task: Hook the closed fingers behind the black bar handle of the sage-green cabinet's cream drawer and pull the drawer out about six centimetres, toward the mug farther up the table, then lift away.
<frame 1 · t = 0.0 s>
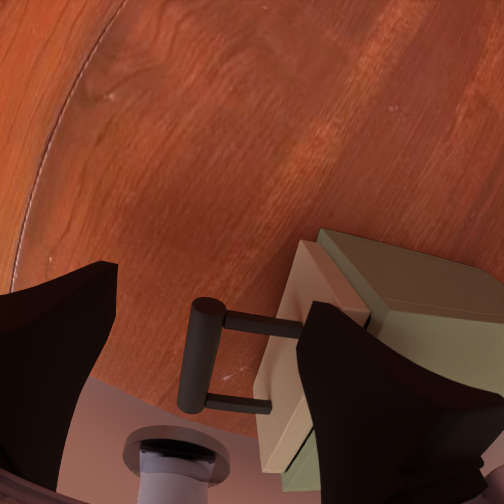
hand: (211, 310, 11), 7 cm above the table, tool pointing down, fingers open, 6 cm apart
drawer: (352, 367, 16), point 4 cm above the table, slide at 0.0 cm, touching cabinet, gripper
cabinet: (384, 329, 20), on the table
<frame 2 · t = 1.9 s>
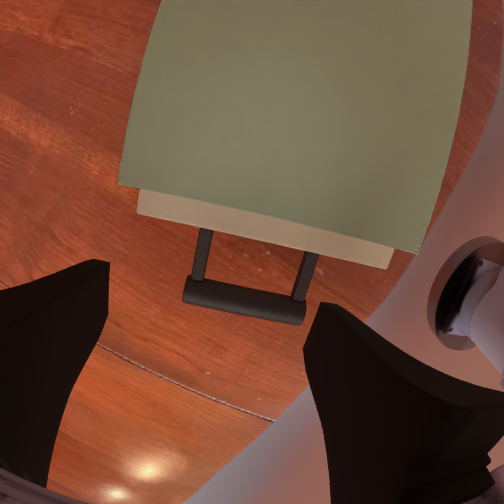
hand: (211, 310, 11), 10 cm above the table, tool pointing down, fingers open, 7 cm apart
drawer: (284, 140, 14), point 4 cm above the table, slide at 0.0 cm
cabinet: (292, 74, 17), on the table
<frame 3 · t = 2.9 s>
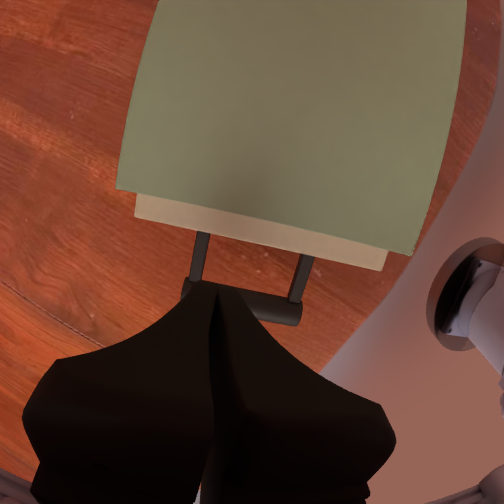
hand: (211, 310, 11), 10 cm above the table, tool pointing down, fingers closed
drawer: (279, 143, 14), point 4 cm above the table, slide at 0.0 cm
cabinet: (289, 78, 17), on the table
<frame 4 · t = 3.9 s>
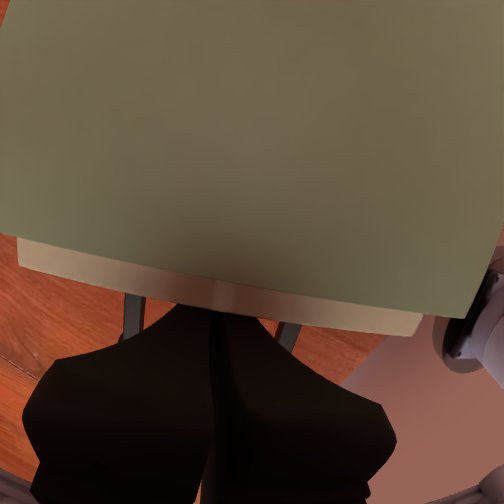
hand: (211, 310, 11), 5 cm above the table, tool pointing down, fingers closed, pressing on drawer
drawer: (252, 131, 9), point 4 cm above the table, slide at 0.0 cm, touching cabinet, gripper
cabinet: (267, 42, 12), on the table
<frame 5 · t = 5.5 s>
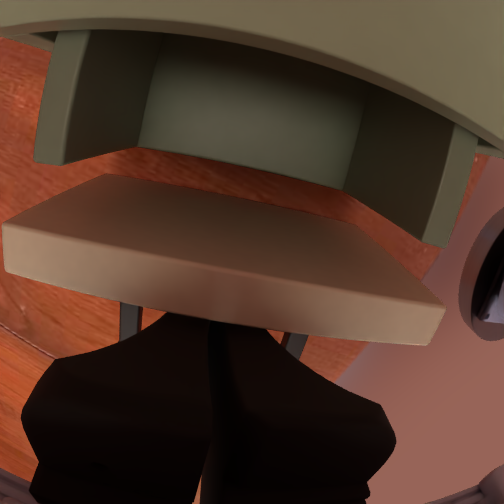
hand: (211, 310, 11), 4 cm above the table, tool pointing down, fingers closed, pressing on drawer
drawer: (256, 126, 8), point 4 cm above the table, slide at 3.9 cm, touching gripper
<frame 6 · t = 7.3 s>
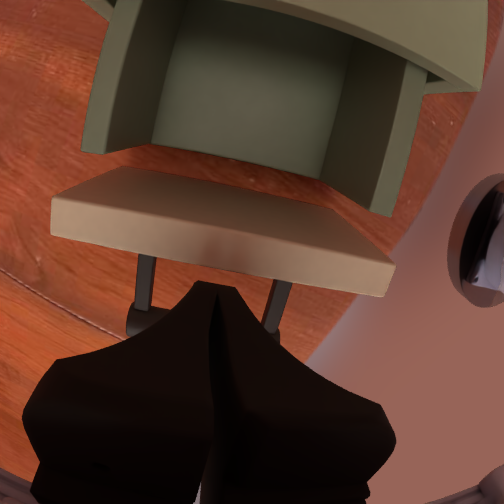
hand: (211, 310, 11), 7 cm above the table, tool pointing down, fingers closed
drawer: (246, 127, 11), point 4 cm above the table, slide at 5.9 cm
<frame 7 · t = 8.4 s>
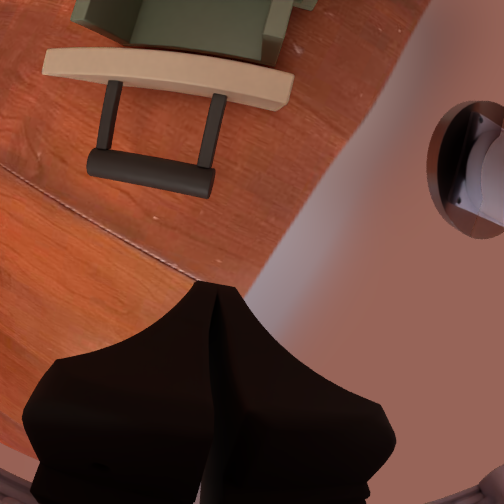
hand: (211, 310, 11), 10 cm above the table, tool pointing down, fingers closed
drawer: (190, 14, 12), point 4 cm above the table, slide at 5.9 cm
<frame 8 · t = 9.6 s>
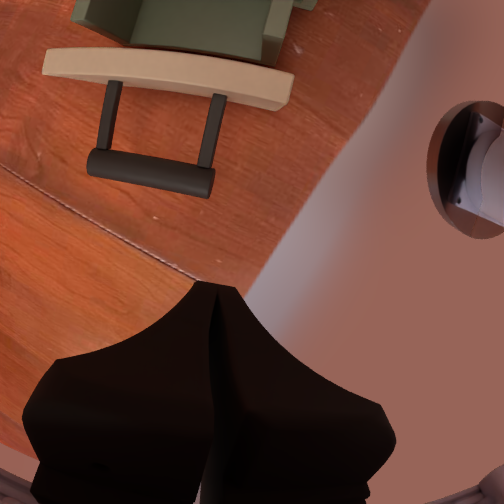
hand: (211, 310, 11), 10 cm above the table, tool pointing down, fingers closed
drawer: (190, 13, 12), point 4 cm above the table, slide at 5.9 cm
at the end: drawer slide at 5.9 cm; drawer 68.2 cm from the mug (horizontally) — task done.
